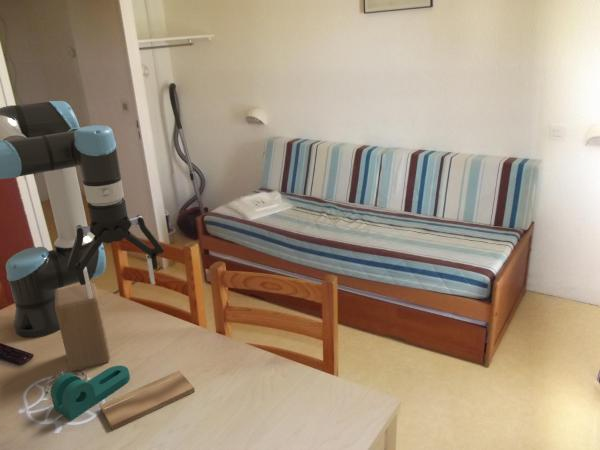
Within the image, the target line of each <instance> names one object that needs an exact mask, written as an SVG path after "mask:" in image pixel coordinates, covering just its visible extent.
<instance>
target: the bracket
mask: <svg viewBox="0 0 600 450" xmlns="http://www.w3.org/2000/svg"><path fill="white" fill-rule="evenodd" d="M130 375H131V374H130V370H129V368H128V367H127V366H125V365H114V366H111V367H108V368H107V369H105V370H103V371H101V372H100V373H99V374H97V375H95V376H93V377H92V378H90V379H89V380H87V381H86V380H85V379H81V378H80V377H79V376H77V375H76V374H74V373H72V372H67V373H66V372H65V373H63V374H61V375H59V376H58V377H57V378H56V379H55V380H54V381H53V383H52V385H51V388H50V396H51V397H50V398H51V401H52V405H53V409H54V411H56V412H57V413H59V414H60V415H61V416H63V417H64V418H67V420H69V421H71V422H72V421H75V419H77V418H78V417H80V416H81V415H83V414H85V412H87V411H88V410H90V409H92V408H93V407H95V406H96V405H97V404H99V403H101V402H102V401H103V400H106V399H107V397H109V396H111V395H112V394H114V393H115V392H117V391H118V390H119V389H121V388H123V387H124V386H125V385H127V384H128V383H129V382H130V380H131V376H130Z"/></svg>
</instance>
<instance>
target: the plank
mask: <svg viewBox="0 0 600 450" xmlns="http://www.w3.org/2000/svg"><path fill="white" fill-rule="evenodd" d="M194 392H195V387H194V386H193V384H192V383H190V381H189V380H188V379H187V378H186V377H185V375H184V374H183V373H182V372H181V371H180V370H177V371H175V372H173V373H171V374H168V375H166V376H164V377H161V378H159V379H156V380H154V381H152V382H150V383H148V384H147V383H146V384H145V385H143V386H141V387H138V388H136V389H134V390H131V391H129V392H127V393H125V394H122V395H120V396H118V397H115V398H113V399H110V400H109V401H106V402H104V403H102V404H100V405H99V407H100V411H101V412H102V414H103V416H104V418H105V419H106V421H107V423H108V424H109V426H110V428H111V431H113V430H115V429H118V428H120V427H122V426H124V425H126V424H129V423H131V422H133V421H135V420H138V419H140V418H141V417H143V416H146V415H148V414H150V413H152V412H153V411H156V410H158V409H161V408H163V407H165V406H167V405H170V404H171V403H173V402H176V401H177V400H179V399H182V398H184V397H186V396H188V395H190V394H192V393H194Z"/></svg>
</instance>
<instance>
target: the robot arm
mask: <svg viewBox="0 0 600 450" xmlns="http://www.w3.org/2000/svg"><path fill="white" fill-rule="evenodd" d="M76 167H79V169H80V174H81V179H82V183H83V184H82V185H83V188H84V189H83V190H84V193H85V199H86V202H87V203H88V204H87V208H88V213H89V219H90V225H88V221H87V217H86V211H85V207H84V202H83V196H82V192H81V187H80V183H79V178H78V171H77V168H76ZM40 173H43V177H44V181H45V185H46V190H47V193H48V194H47V195H48V197H49V198H48V199H49V202H50V206H51V207H50V208H51V211H52V215H53V221H54V225H55V228H56V232H57V238H56V239H55V241H54V243H53V245H54V249H51V250H48V249H47V247H44V246H37V247H36V246H33V247H30V248H25V249H24V250H20V251H19V252H17V253H15V254H13V255H12V256H11V257H10V258H9V259H8V260H7V261H6V263H5V271H6V279H7V281H8V283H9V286H10V290H11V295H12V299H13V301H14V306H15V313H14V322H13V327H14V331H15V333H16V335H18V336H19V337H23V338H30V339H32V338H38V337H45V336H47V335H50V334H53V333H55V332H57V331H60V327H59V323H58V319H57V314H56V310H55V292H56V291H57V290H59V289H63V288H66V287H70V286H72V285H75V284H78V283H79V285H84V284H86V287H87V292H88V296H89V299H91V298H93V297H92V292H91V287H90V283H91V282H90V281H92V280H93V279H96V278H98V277H101V276H102V275H103V274H104V273H105V270H106V266H107V258H106V251H105V247H104V244H111V243H113V242H122V241H123V240H124V239H125V240H126V241H128V242H129V243H131V244H133V245H134V246H135V247H137V248H139V250H141V251H142V252H144V253H146V255H145V256H146V264H147V269H148V270H147V271H148V276H149V277H148V278H149V281H150V284H151V286H153V285H156V281H155V273H154V270H157V269H158V262H157V261H158V260H157V257H158V255H159V254H163V253H164V252H165V251H164V247H163V246H162V245H161V243H160V242H159V241H158V239H157V238H156V237H155V236H154V234H153V233H152V232H151V230H149V228H148V227H147V225H146V224H145V220H144V218H143V215H141V214H137V215H136V217H133V218H129V216H128V210H127V204H126V200H125V199H124V197H125V193H124V187H123V182H122V176H121V168H120V164H119V157H118V151H117V141H116V140H115V135H114V132H113V129H112V128H111V127H110V126H108V125H102V124H99V125H98V124H97V125H95V124H94V125H86V126H82V127H80V125H79V121H78V119H77V115H76V113H75V112H74V110H73V109H72V107H71V105H70V104H69V103H68V102H66V101H64V100H48V101H40V102H32V103H24V104H23V103H22V104H17V105H6V106H2V107H0V180H4V179H16V178H19V177H24V176H29V175H35V174H40ZM132 225H134V226H135V227H136V228H139V229H140V231H141V232H142V234H143V235H144V236H145V238H146V239H147V240H148V241H149V243H150V244H151V245H152V246H153V248H152V247H151V246H149V245H148V244H147V243H146V242H144V241H143V240H141V239H140V238H139V237H137V236H136V235H135V234H133V233H132V232H131V231H130V228H131V227H132ZM103 243H104V244H103Z"/></svg>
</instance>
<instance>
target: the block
mask: <svg viewBox="0 0 600 450" xmlns="http://www.w3.org/2000/svg"><path fill="white" fill-rule="evenodd" d="M90 287H91V292H92V297H93V298H91V299H89V296H88V292H87V287H86V284H84V285H81V284H79V285H74V286H68V287H63V288H59V289H57V291H56V292H55V310H56V314H57V319H58V323H59V327H60V329H59V331H60V334H61V339H62V343H63V346H64V350H65V355H66V358H67V362H68V363H67V365H68V368H69V369H70V371H72V372H75V371H79V370H83V369H87V368H90V367H94V366H99V365H102V364H106V363H108V362H109V361H110V359H111V357H110V356H111V355H110V351H109V345H108V341H107V334H106V329H105V325H104V321H103V320H104V319H103V315H102V311H101V306H100V301H99V296H98V292H97V291H98V290H97V287H96V284H95V283H94V282H90Z"/></svg>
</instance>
